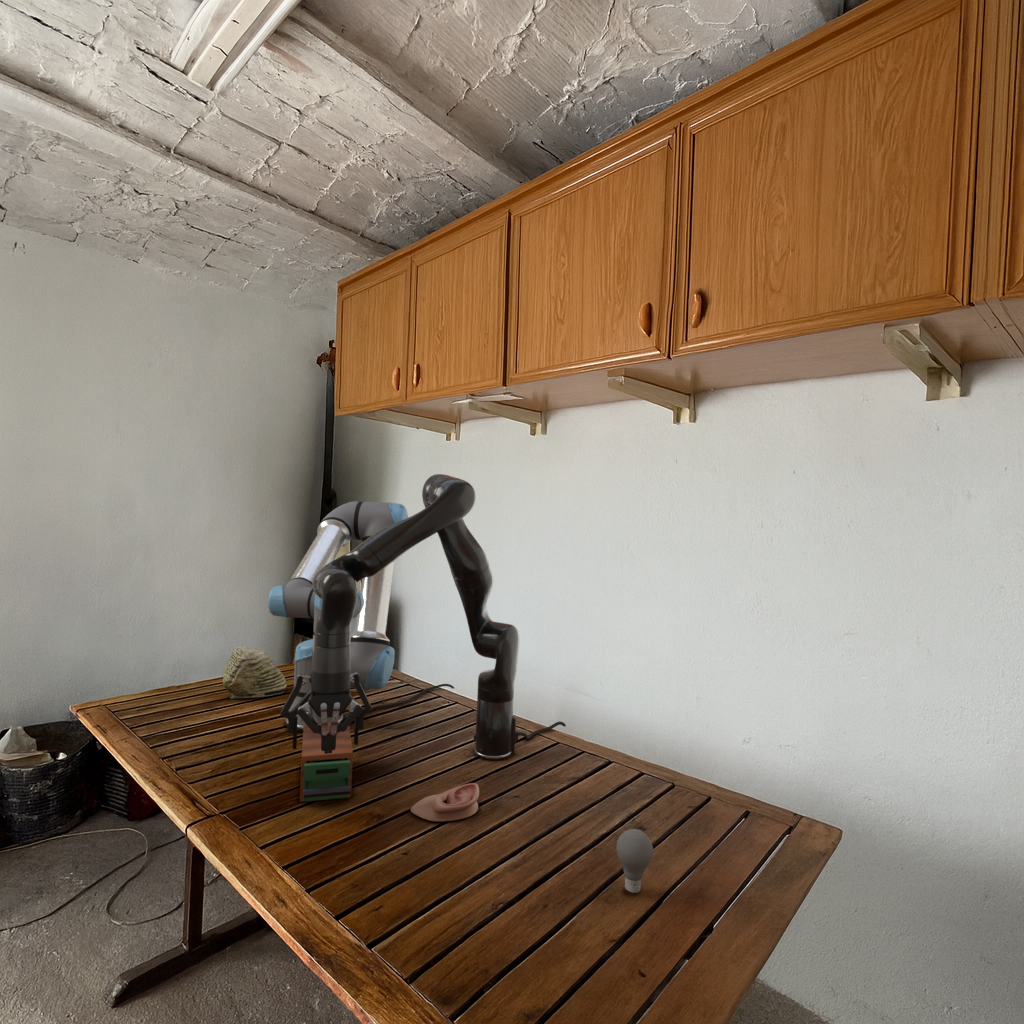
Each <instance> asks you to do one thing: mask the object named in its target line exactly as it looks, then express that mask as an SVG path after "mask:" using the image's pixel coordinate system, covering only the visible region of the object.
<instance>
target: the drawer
mask: <svg viewBox="0 0 1024 1024" xmlns="http://www.w3.org/2000/svg"><path fill="white" fill-rule="evenodd" d="M349 780H350V760H345V758H343V759H330V760H317V761H309V763H306V764H304V785H303V802H305V803H306V802H314V801H315V802H316V801H326V800H336V799H347V798H350V797H349V794H350V785H349Z"/></svg>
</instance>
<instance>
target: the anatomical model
mask: <svg viewBox="0 0 1024 1024" xmlns="http://www.w3.org/2000/svg"><path fill="white" fill-rule="evenodd" d="M479 796H480V787H479V785H478V784H477V783H475V782H470V783H466V784H462V785H458V786H456V787H453V788H451V789H448V790H446V791H443V792H441V793H438V794H433V795H429V796H425V797H424V798H421V799H420V800H418V801H417V802H416V803H414V804H413V805H412V806H411V808H410V812H411V813H412V814H414V815H415V816H417V817H419V818H421V819H423V820H427V821H429V822H451V821H457V820H458V821H459V820H462V819H466V818H469V817H471V816H473V815H475V814H476V813H477V812H478V810H479V804H478V799H479Z"/></svg>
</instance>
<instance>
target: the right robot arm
mask: <svg viewBox="0 0 1024 1024" xmlns="http://www.w3.org/2000/svg"><path fill="white" fill-rule="evenodd" d="M421 496H422V497H421V498H422V503H423V506H424V508H423V509H422V510H421V511H419V512H417V513H415V514H413V515H410V516H408V518H406V519H404V520H401V521H399V522H396V523H394V524H391V525H389V526H387V527H385V528H383V529H381V530H379V531H378V532H376V533H375V534H373V535H372V536H371V537H369V538H368V539H367V540H365V541H364V542H363V543H362V542H361V543H360V544H359V545H358V546H356V547H355V548H354V549H352V550H351V551H348V552H346V553H345V554H343V555H341V556H339V557H336V558H335V560H333V561H332V562H330V563H328V564H327V565H325V566H324V567H323V568H321V569H320V570H319V571H318V572H317V574H316V575H315V577H314V579H313V584H312V586H313V590H314V592H315V594H316V595H317V596H318V597H319V598H321V599H322V611H321V616H319V617H318V618H317V620H316V623H315V639H314V650H313V657H312V682H311V694H310V696H309V698H308V702H307V703H305V704H304V705H303V706H302V705H301V706H299V707H298V712H297V713H298V715H299V716H300V717H301V718H302V720H303V721H304V722H305V723H306V725H307V726H308V727H309V728H310V729H311V731H312V732H313V733H319V734H320V735H321V750H322V751H324V754H329V753H332V750H335V748H336V735H337V733H338V732H344V731H345V730H346V729H347V728H348V726H349V727H350V725H351V724H352V723H353V722H354V721H355V718H356V717H357V715H358V714H359V713H360V712H361V710H362V708H363V707H362V704H361V703H360V702H358V703H356V702H355V701H354V700H352V697H353V695H352V694H351V688H350V674H351V648H350V641H351V635H352V620H353V618H352V617H353V614H354V609H355V605H356V600H357V590H358V582H360V581H362V579H363V578H366V577H372V576H374V575H376V574H378V573H379V572H380V571H382V570H383V569H384V568H385V567H387V566H388V565H389V564H391V563H392V562H393V561H394V560H395V561H396V560H397V559H398V558H400V557H401V556H403V554H405V553H406V552H407V551H409V550H410V549H412V548H414V547H416V546H417V545H418V544H420V543H421V542H424V541H425V540H427V539H428V538H430V537H431V536H433V535H435V534H437V535H438V538H439V540H440V544H441V547H442V549H443V553H444V556H445V558H446V561H447V563H448V566H449V568H450V569H449V570H450V573H451V576H452V579H453V582H454V585H455V587H456V590H457V592H458V595H459V599H460V600H461V604H462V608H463V611H464V614H465V618H466V622H467V627H468V630H469V635H470V639H471V644H472V647H473V649H474V651H475V652H476V654H478V655H479V656H481V657H483V658H488V659H491V660H492V659H493V660H495V664H494V668H491V669H487V670H484V671H482V672H480V673H479V674H478V677H477V694H476V695H477V698H476V701H477V702H476V719H475V734H474V735H473V740H472V741H473V742H474V754H475V755H476V756H477V757H478V758H481V759H484V760H490V761H491V760H492V761H498V760H499V761H500V760H504V759H507V758H509V757H511V756H512V755H515V749H516V748H515V747H516V743H519V737H521V736H522V737H523V738H524V740H526V741H527V740H530V739H532V737H534V736H536V735H538V734H540V733H545V732H547V731H550V730H552V729H554V728H556V727H558V726H562V727H567V725H566V723H565V722H563V721H557V722H554V723H553V724H551V725H549V726H546V727H543V728H540V729H536V730H534V731H532V732H531V733H530V734H529V735H528V734H527V733H526V732H522V731H518V730H517V729H516V727H517V722H516V721H517V717H516V716H515V715H514V701H515V700H514V699H515V698H514V696H515V680H516V677H517V674H518V673H517V672H518V663H519V662H518V661H519V651H520V633H519V630H518V627H516V625H514V624H510V623H505V622H499V621H493V620H492V618H491V616H490V614H489V611H488V607H487V603H488V601H489V598H490V595H491V593H492V590H493V586H494V576H493V572H492V569H491V565H490V563H489V559H488V557H487V555H486V552H485V551H484V549H483V548H482V546H481V544H480V543H479V542H478V540H477V539H476V537H475V536H474V535H473V533H472V532H471V531H470V529H469V528H468V526H467V524H466V523H465V521H464V517H466V516H467V515H468V514H469V513H471V512H472V509H473V508H474V506H475V504H476V490H475V489H474V486H473V485H471V483H470V482H468V481H466V480H465V479H462V478H459V477H455V476H452V475H449V474H448V475H447V474H443V473H435V474H433V475H431V476H429V477H428V478H427V479H426V480H425V482H424V483H423V486H422V490H421ZM395 561H394V562H395ZM310 706H311V708H312V709H313V710H314V712H315V713H316V714H317V716H319V717H321V725H318V723H317V722H316V721H315V720H314V718H313V717H312V716H311V715H310V712H311V710H310ZM361 707H362V708H361ZM346 709H349V712H347V713H346V715H345V716H343V720H342V721H341V722H340V723H339V724H338V718H339V716H341V715H342V714H343V715H344V713H345V712H344V711H345V710H346ZM329 717H331V726H330V732H328V721H327V718H329Z"/></svg>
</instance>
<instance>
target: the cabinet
mask: <svg viewBox="0 0 1024 1024" xmlns="http://www.w3.org/2000/svg"><path fill="white" fill-rule="evenodd" d="M338 724H339V723H338ZM318 725H321V724H318ZM330 726H331V723H328V732H330ZM351 737H352V736H351V729H350V725H349V726H348V728H347V729H346V730H345V731H344V732H338V733H337V735H336V748H335V750H332V753H329V754H324V751H322V750H321V735H320V734H319V733H313V732H312V731H311V729H310V728H309V727H308V726H307V725H304V727H303V732H302V744H301V745H302V746H301V747H302V748H301V760H300V761H301V763H300V764H301V765H300V768H301V769H300V785H299V787H300V788H299V789H300V790H299V803H302V802H303V785H304V764H306V763H309V761H317V760H330V759H343V758H345V760H350V780H349V785H350V794H349V797H348V798H352V783H353V782H352V781H353V757H354V752H353V751H354V750H353V744H352V743H353V742H352V738H351Z"/></svg>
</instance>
